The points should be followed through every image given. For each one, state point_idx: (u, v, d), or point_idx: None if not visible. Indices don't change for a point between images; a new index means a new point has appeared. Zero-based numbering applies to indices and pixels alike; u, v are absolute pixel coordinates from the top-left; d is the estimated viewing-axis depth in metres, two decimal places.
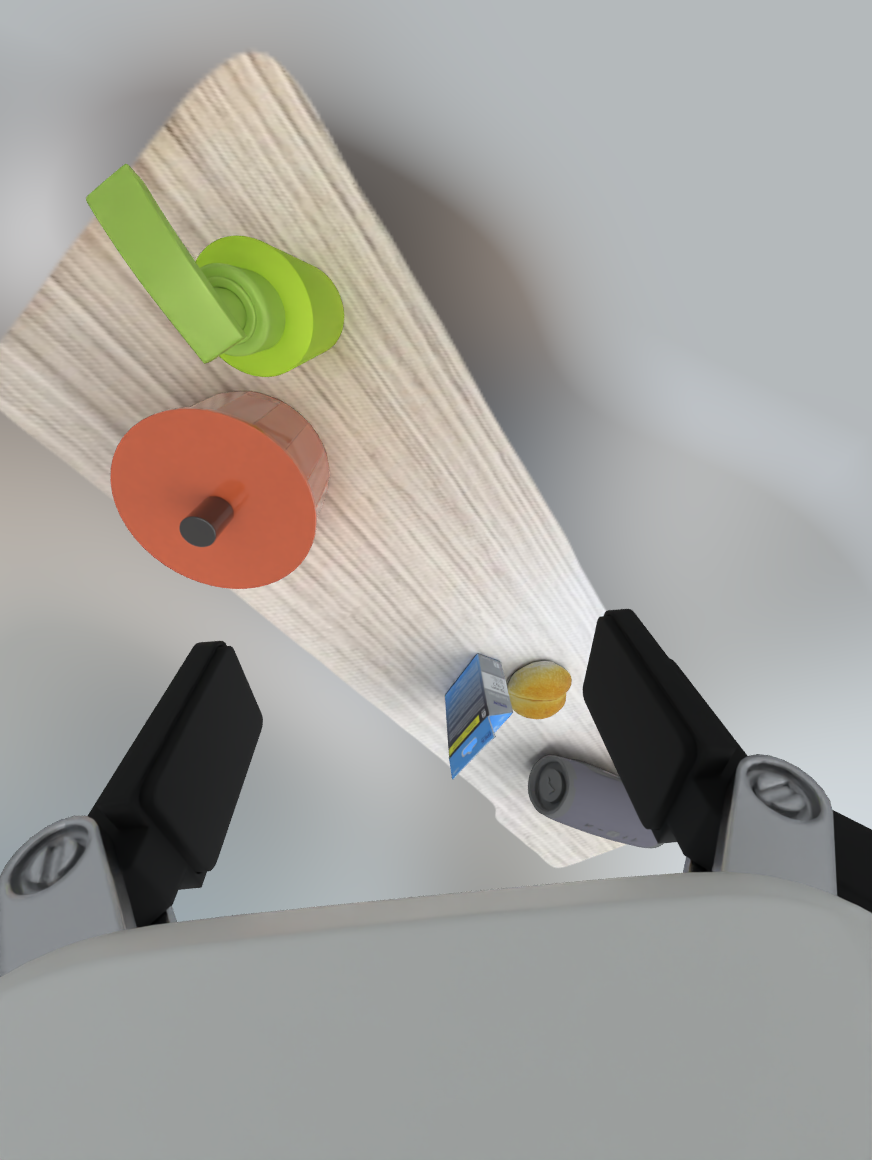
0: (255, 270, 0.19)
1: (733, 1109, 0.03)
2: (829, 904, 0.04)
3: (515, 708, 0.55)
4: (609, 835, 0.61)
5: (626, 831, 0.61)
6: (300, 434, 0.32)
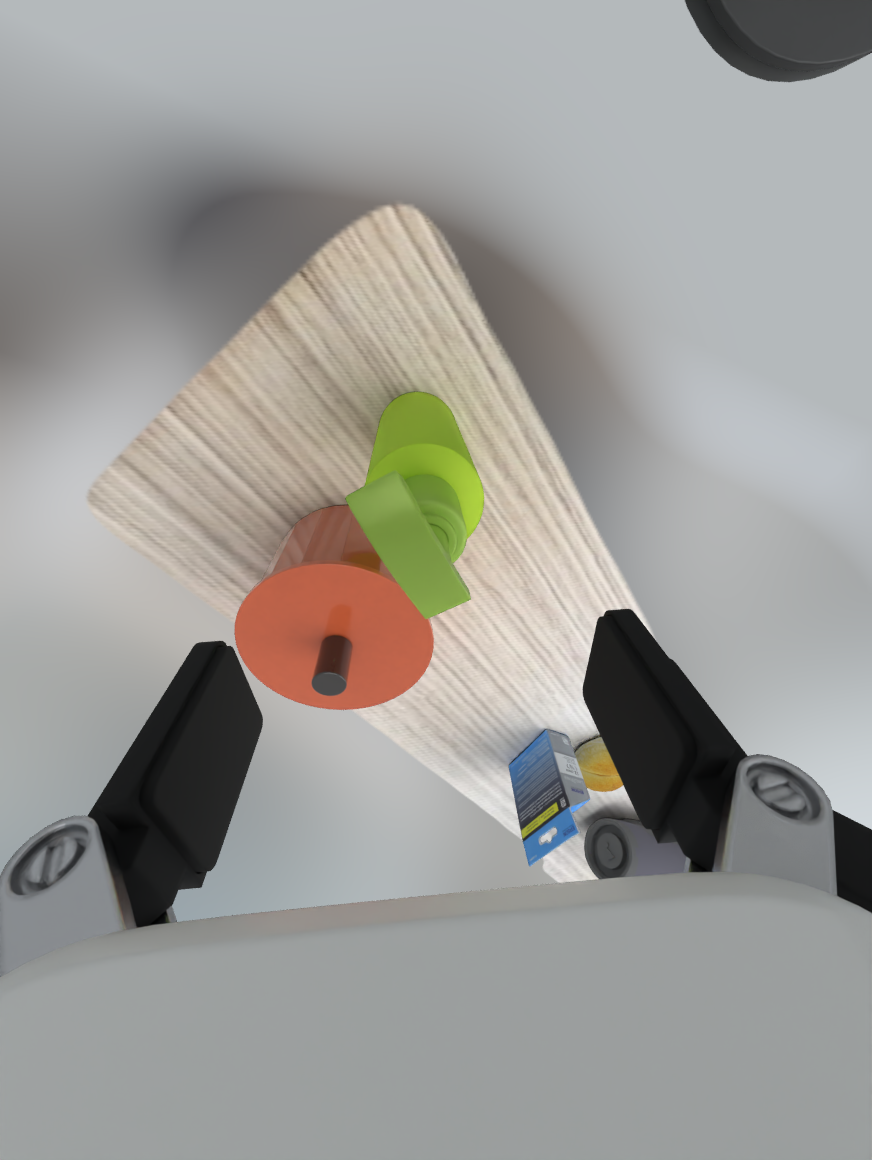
0: (437, 473, 0.19)
1: (733, 1108, 0.03)
2: (829, 904, 0.04)
3: None
4: None
5: None
6: None
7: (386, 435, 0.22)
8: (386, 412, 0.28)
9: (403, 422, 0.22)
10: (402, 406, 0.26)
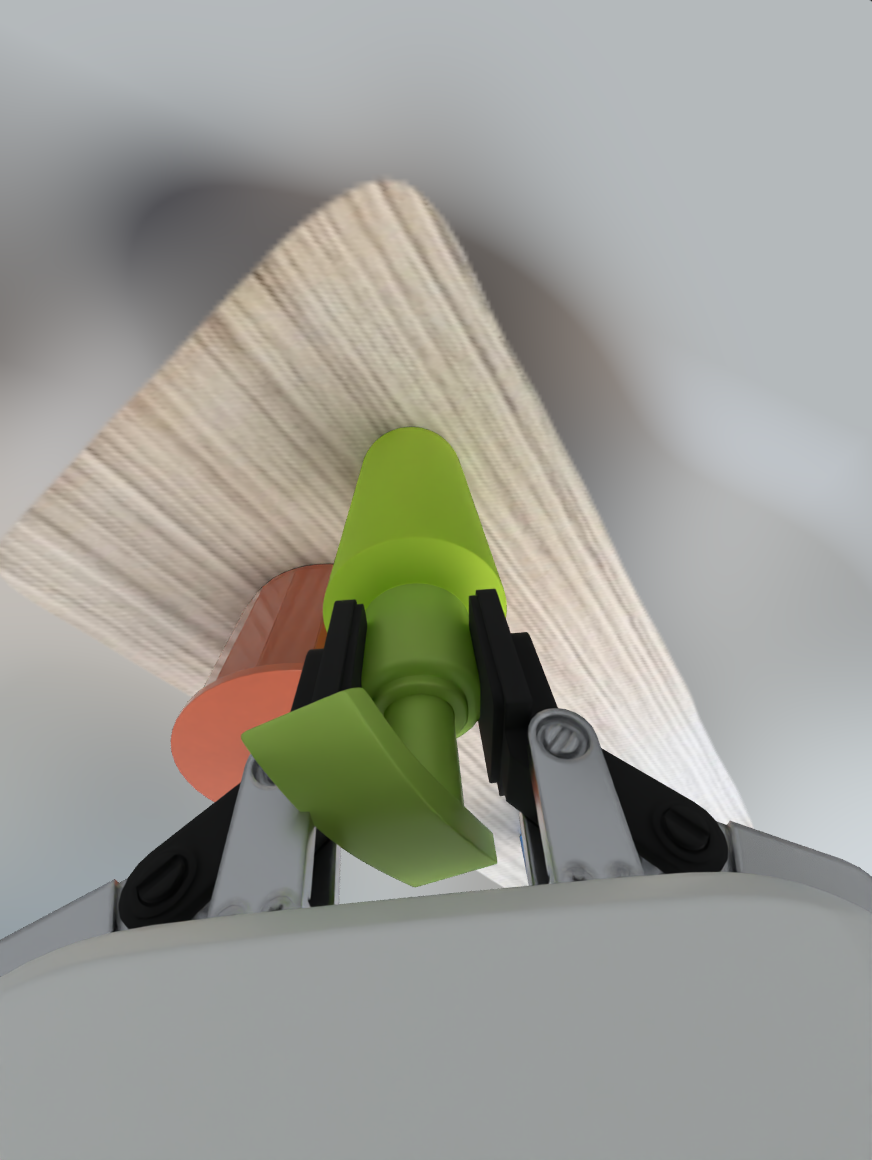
0: (436, 581, 0.12)
1: (733, 1109, 0.03)
2: (829, 904, 0.04)
3: None
4: None
5: None
6: None
7: (363, 505, 0.15)
8: (369, 456, 0.21)
9: (388, 484, 0.15)
10: (389, 452, 0.19)
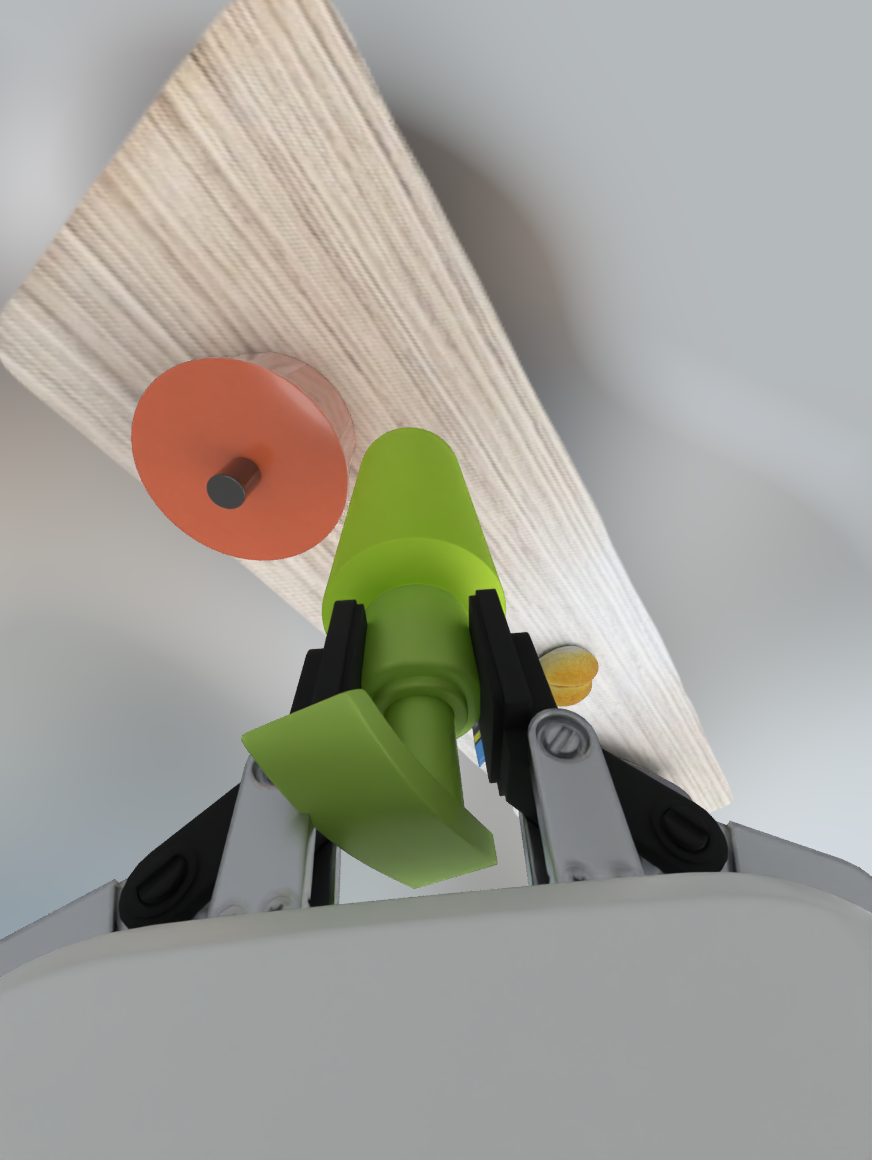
0: (435, 581, 0.12)
1: (733, 1109, 0.03)
2: (828, 904, 0.04)
3: None
4: None
5: None
6: (328, 396, 0.31)
7: (362, 505, 0.15)
8: (368, 456, 0.21)
9: (387, 485, 0.15)
10: (388, 452, 0.19)
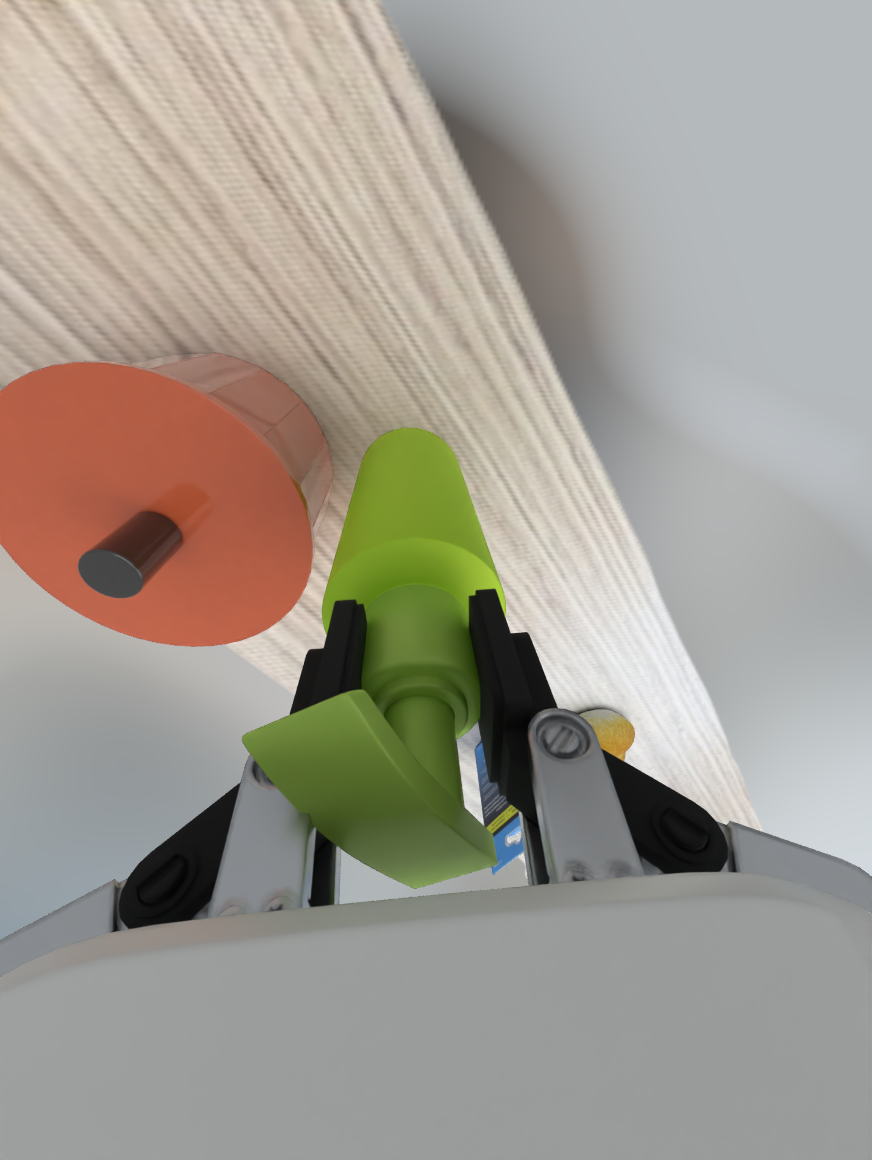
0: (435, 582, 0.12)
1: (733, 1109, 0.03)
2: (829, 904, 0.04)
3: None
4: None
5: None
6: (289, 415, 0.22)
7: (362, 505, 0.15)
8: (368, 456, 0.21)
9: (387, 485, 0.15)
10: (388, 452, 0.19)
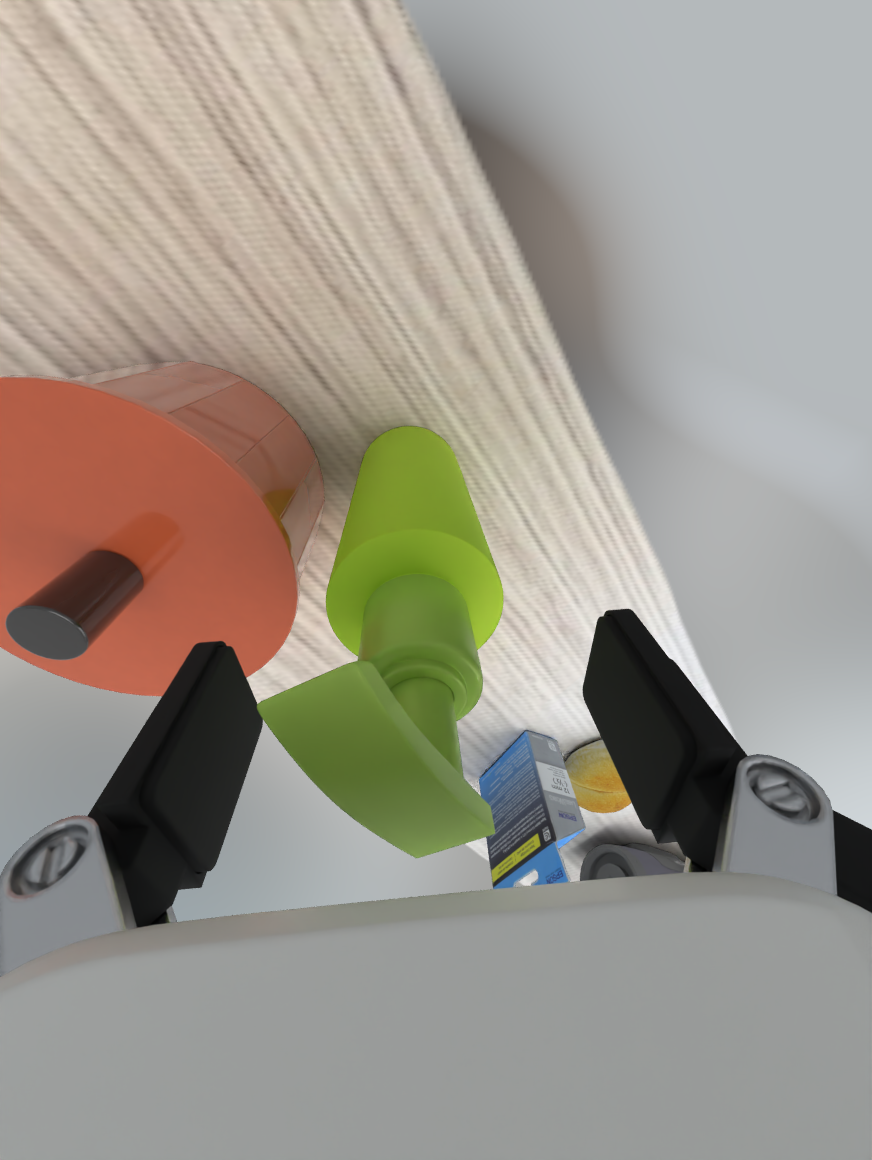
0: (435, 572, 0.13)
1: (733, 1109, 0.03)
2: (829, 904, 0.04)
3: None
4: None
5: None
6: (272, 433, 0.19)
7: (364, 500, 0.15)
8: (369, 454, 0.21)
9: (388, 480, 0.16)
10: (389, 450, 0.19)
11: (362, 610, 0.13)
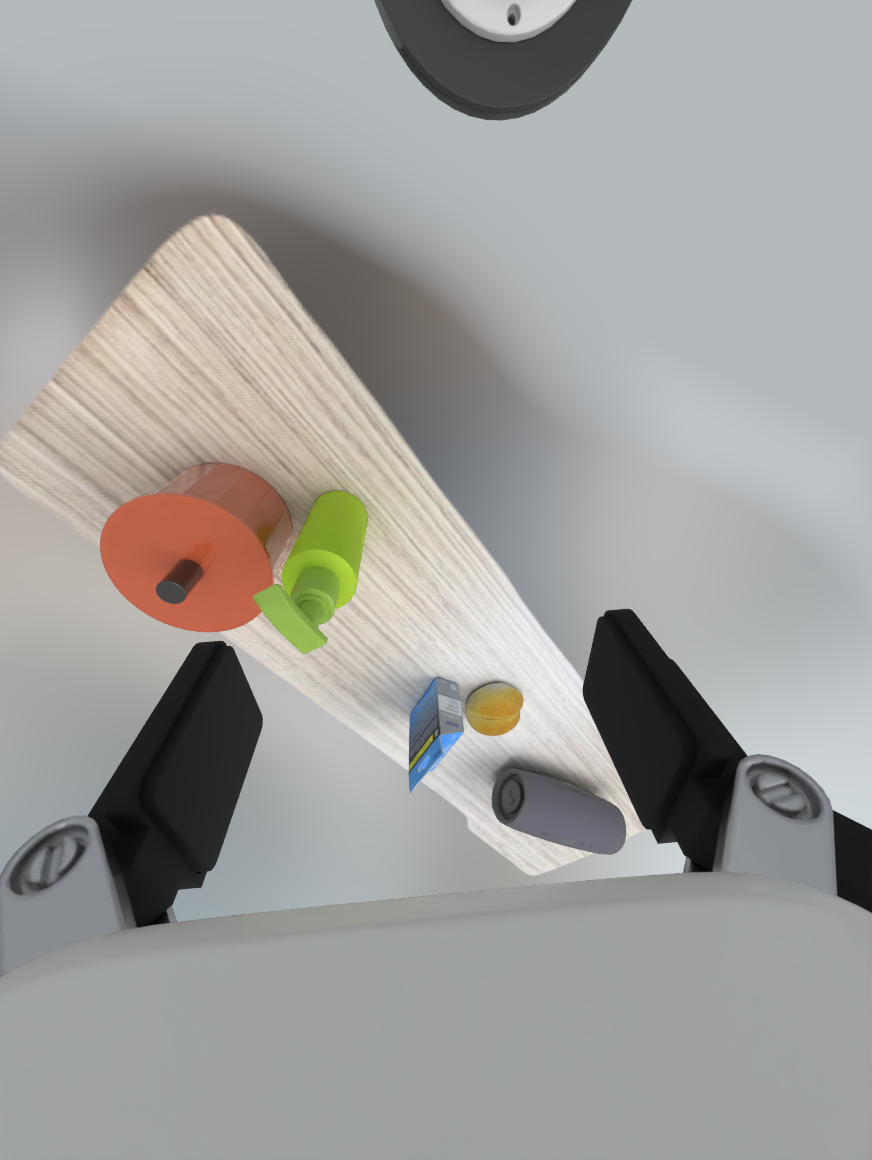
0: (323, 565, 0.32)
1: (733, 1109, 0.03)
2: (829, 904, 0.04)
3: (473, 726, 0.60)
4: (566, 842, 0.66)
5: (582, 838, 0.66)
6: (261, 501, 0.38)
7: (301, 535, 0.35)
8: (313, 507, 0.41)
9: (312, 526, 0.35)
10: (320, 507, 0.39)
11: (296, 581, 0.33)
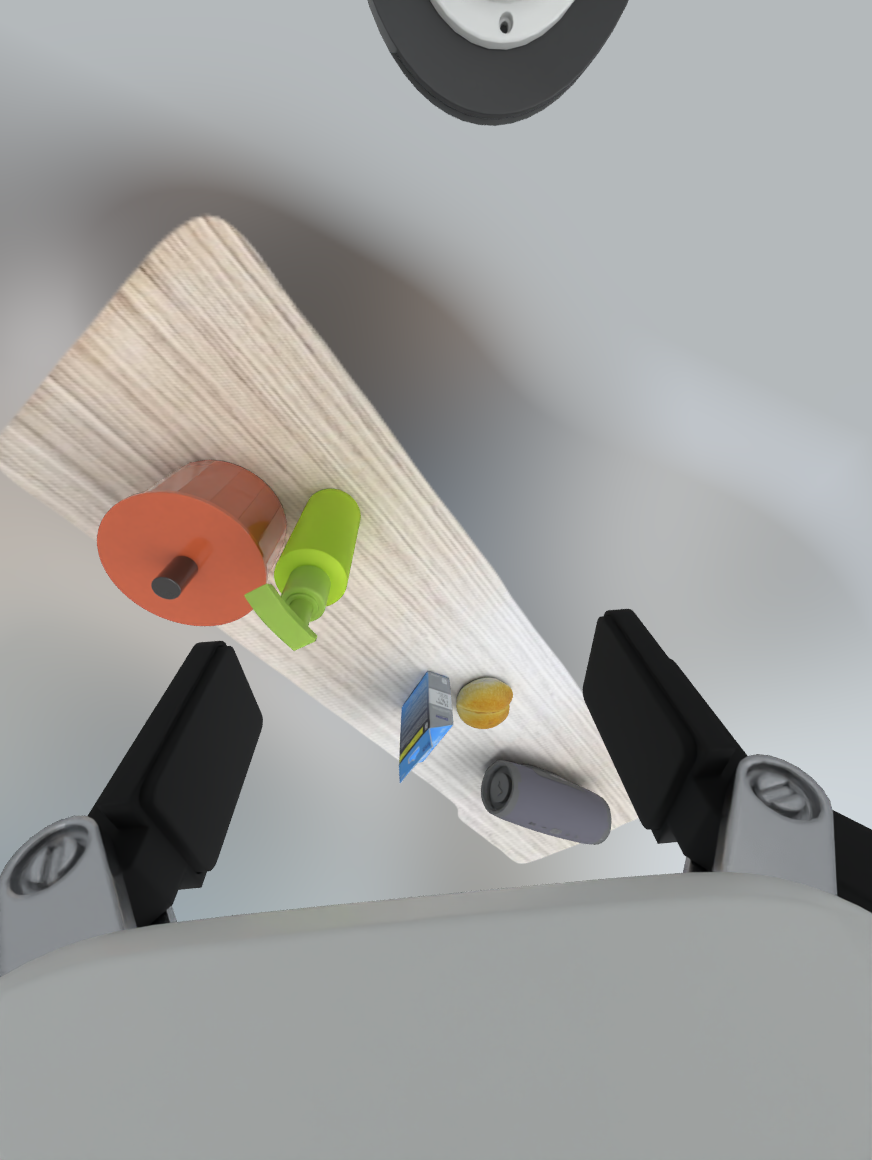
0: (314, 564, 0.33)
1: (733, 1109, 0.03)
2: (829, 904, 0.04)
3: (463, 719, 0.61)
4: (553, 832, 0.67)
5: (568, 828, 0.67)
6: (256, 498, 0.39)
7: (293, 534, 0.36)
8: (306, 505, 0.42)
9: (305, 525, 0.36)
10: (313, 505, 0.40)
11: (288, 579, 0.33)
